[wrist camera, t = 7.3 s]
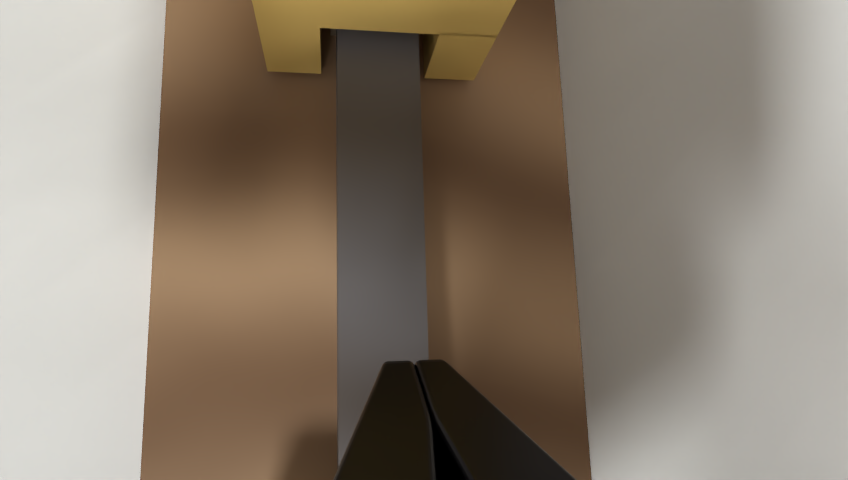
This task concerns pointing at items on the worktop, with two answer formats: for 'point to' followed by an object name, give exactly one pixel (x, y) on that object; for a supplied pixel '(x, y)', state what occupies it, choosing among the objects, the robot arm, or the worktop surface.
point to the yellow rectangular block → (383, 11)
